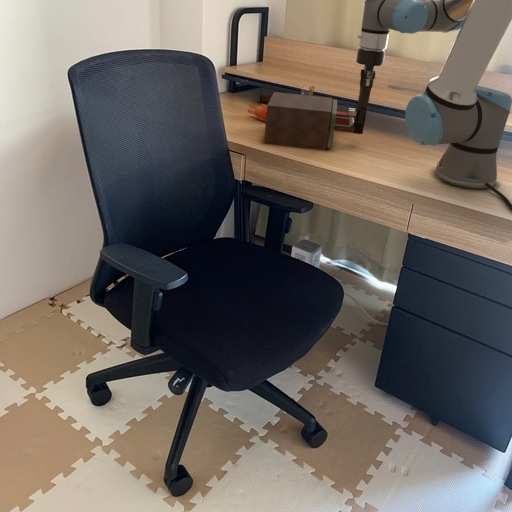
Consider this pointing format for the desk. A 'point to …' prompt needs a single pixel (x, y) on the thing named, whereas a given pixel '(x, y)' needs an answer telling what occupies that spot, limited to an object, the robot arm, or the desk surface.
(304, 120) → the cabinet
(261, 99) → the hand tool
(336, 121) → the red base white blocks
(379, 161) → the desk surface
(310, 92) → the utensil holder
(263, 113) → the orange toy bird
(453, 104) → the robot arm
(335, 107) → the drawer
